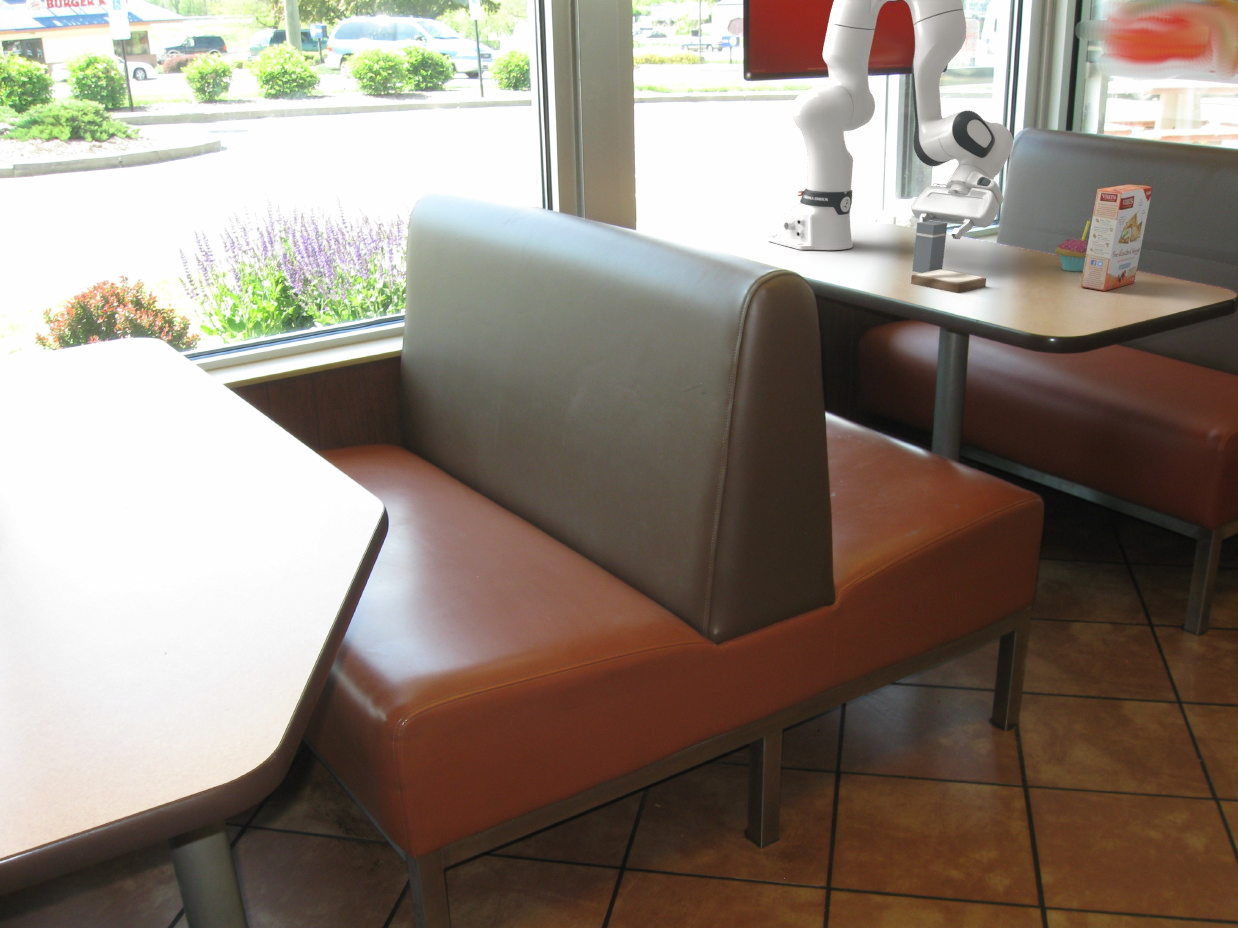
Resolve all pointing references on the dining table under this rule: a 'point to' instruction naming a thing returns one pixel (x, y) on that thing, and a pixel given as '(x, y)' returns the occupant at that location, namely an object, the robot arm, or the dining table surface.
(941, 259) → the grey upright pillar block
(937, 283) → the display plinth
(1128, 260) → the cracker box
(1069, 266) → the cupcake
